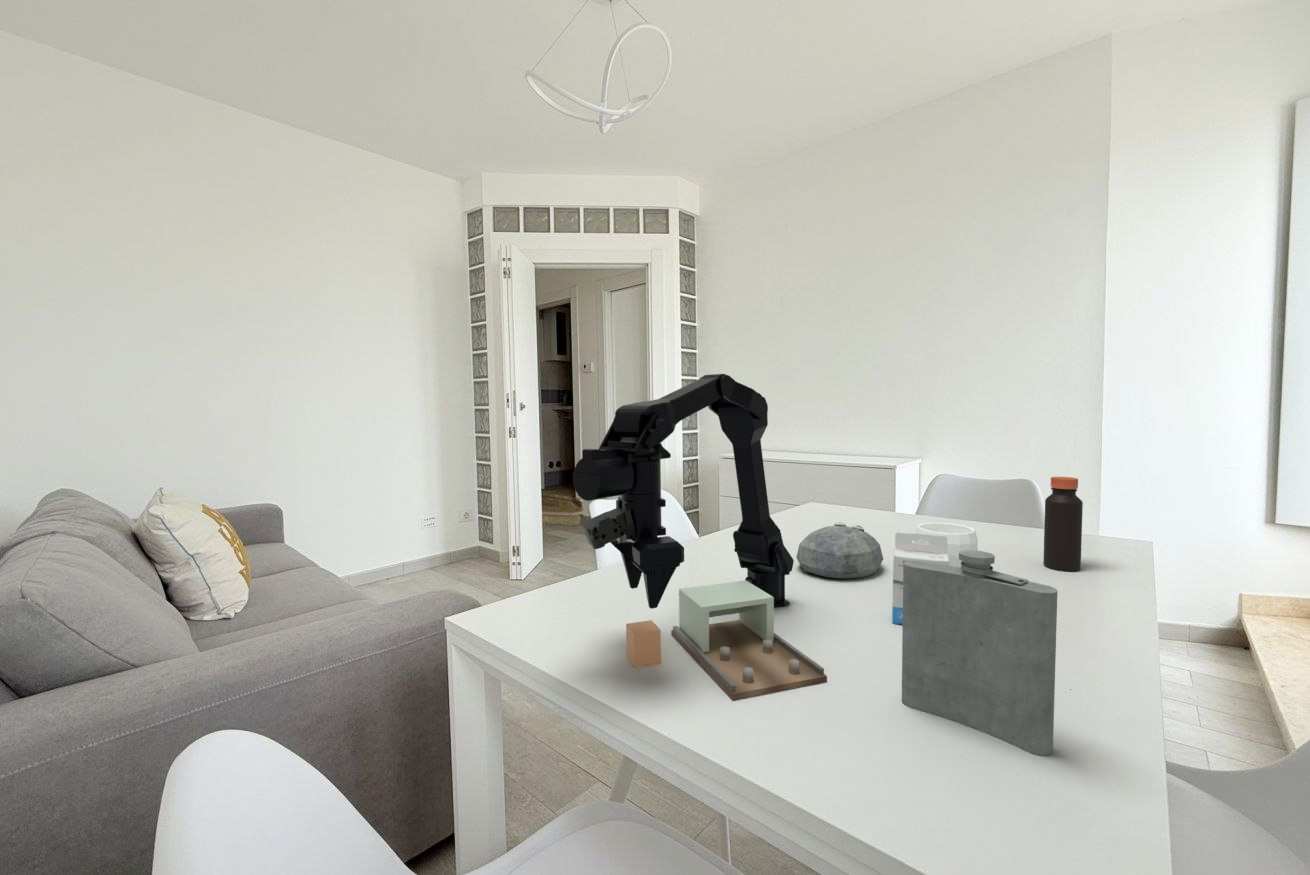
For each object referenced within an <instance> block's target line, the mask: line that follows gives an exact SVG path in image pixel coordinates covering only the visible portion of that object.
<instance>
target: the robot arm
mask: <svg viewBox="0 0 1310 875" xmlns="http://www.w3.org/2000/svg"><path fill="white" fill-rule="evenodd" d="M762 395H763V394H761V393H760V392H757V391H756V390H755V389H753V388H751V387H750V386H747V385H745V384H743V383H740V382H738V381H736V380H735V379H734V378H733V377H732V376H730V375H729V374H726V373H716V374H714V373H713V374H705V375H703V376H701V377H700V378H699V379H697V380H695V381H692V382H691V383H689V384H686V385H684V386H683V387H681V388H678V389H676V390H674V391H673V392H670V393H668V394H666V395H663V396H662V397H659V398H658V399H653V400H645V401H639V402H633V403H629V404H628V403H627V404H624V405H621V406H620V407H618V408H617V409H616V410H615V412H614V414H615V415H614V418H613V421H612V423H611V425H610V427H609V428H608V430H607V432H606V434H605V436H604V438H603V439H602V442H601V444H600V445H599V447H598V449H597V448H585V449H583V450H582V452H581V454H582V456H581V457H582V458H581V459H579V460H578V462H577V463H576V465H575V468H574V471H573V473H572V483H573V487H574V490H575V492H576V494H577V496H579V498H581V499H582V500H584V501H586V502H589V501H596V500H600V499H608V498H612V497H617V496H618V497H617V499H616V501H615V508H614V509H611V510H609V511H604V512H603V513H601V514H598V515H596V516H594V517H592V518H589V519H587V520H585V521H583V522H582V523H581V526H582V529H583V531H584V534H585V537H586V540H587V541H588V544H589V545H590V546H591V547H592V548H593V549H594V550H598V549H602V548H604V547H605V546H606V545H607V544H609V543H610V544H611V545H612V546H613V547H615V548H616V549H617V550H618V551H619V553H620V555H621V556H620V557H621V559H622V562H623V566H624V570H625V572H626V577H627V580H628V586H629V588H630V589H637V588H638V587H639V584H640V581H641V577H642V575H643V581H644V586H645V593H646V599H647V603H648V608H649V609H650V610H651V609H657V608H658V607H659V604H660V602H661V599H662V597H663V595H664V593H665V591H666V589H667V586H668V584H669V582H670V581H671V579H672V577H673V575H674V573H675V572H676V569H677V568H679V567H680V566H681V564H682V563H684V562H685V547H684V546H683V545H682V543H680V542H679V541H677V540H676V539H674V538H673V537H672V536H670V535H667V528H666V527H665V526H663V525H662V508H666V507H667V506H666V503H667V500H666V499H665V498H664V497H662V484H661V483H662V480H661V479H662V474H661V473H662V472H661V464H662V463H661V460H665V459H670V458H671V457H672V456H671V452H669V451H668V449H666V448H665V447H664V446H663V444H662V443H663V442H664V441H665V440H666V439H667V438H668V437H670V436H671V435H672V434H673V433H674V431H675V430H676V426H677V424H679V423H680V422H681V421H683V420H685V419H686V418H688V417H691V416H692V415H694V414H695V413H697V412H699V411H702V410H703V409H705V408H708V410H710V411H711V412H712V413H714V414H715V415H717V417H718V420H719V424H720V428H721V431H722V432H723V434H724V435H725V436H726V438H727V439H728V440H729V441H730V443H731V445H732V451H733V458H734V466H735V473H736V480H737V490H738V495H739V497H738V498H739V503H740V504H739V505H740V510H741V517H742V518H741V522H740V524H739V526H738V529H737V530H735V531H733V533H732V537H733V541H734V552H735V553H736V555H737V558H738V561H739V562H738V563H739V566H740V568H741V569H746V570H747V571H746V572H747V576H746V577H745V578H744V579H745V580H746V581H748V582H749V583H751V584H753V585H754V586H756V587H758V588H759V589H761V590H763V591H764V592H766V593H767V594H769V595H771V596H772V597H774V608H775V607H776V608H777V607H783V606H788V605H790V603H791V602H790V601H789V600H787V599H786V587H785V586H786V576H788V575H790V572H792V571H793V567H794V561H795V559H794V558H793V557H792V555H791V553H790V552H789V550H788V549H787V548H786V546H785V545H784V541H783V540H784V539H783V536H782V533H781V530H780V528H779V527H778V525H777V523H775V521H774V520H773V518H772V517H771V515H770V507H769V501H768V500H769V498H768V492H767V483H766V482H767V481H766V473H765V468H764V465H765V464H764V459H763V458H764V457H763V451H762V450H763V449H762V442H761V440H762V438H763V435H764V433H765V432H766V429H767V427H768V423H769V421H768V413H769V405H768V402H767V400H766V398H765V396H762ZM619 496H620V497H619Z"/></svg>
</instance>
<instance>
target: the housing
mask: <svg viewBox="0 0 1310 875" xmlns="http://www.w3.org/2000/svg"><path fill="white" fill-rule="evenodd" d="M774 610H775V607H774V597H772V596H771V595H769V594H767V593H766V592H764V591H763V590H761V589H759V588H758V587H756V586H754V585H753V584H751V583H749V582H748V581H746V580H738V581H729V582H722V583H721V582H720V583H714V584H705V585H698V586H691V587H690V586H689V587H681V588H679V589H678V618H679V619H678V622H679V623H678V628H679V629H680V630H681V631H682V632H683V633H684V634H685V635H686V636H687V637H688V638H689V639H690V640H691V641H692V642H693V643H694V644H695V645H696V646H697V647H698V648H699V649H700V650H701V651H702V652H703V653H704V652H709V624H710V618H713V617H721V616H729V615H736V614H739V620H740V622H741V623H743V624H744V625H745V626H747V627H748V628H749V629H751V630H752V631H753V632H754V633H756V634H757V635H758V636H760V637H761V638H762V639H764V640H765V639H769V640H772V641H774V633H775V631H774V630H775V626H774V625H775V620H774V619H775V614H774V613H775V611H774Z"/></svg>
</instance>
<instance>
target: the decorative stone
mask: <svg viewBox="0 0 1310 875" xmlns="http://www.w3.org/2000/svg"><path fill="white" fill-rule="evenodd" d="M796 560H797V561H798V563H799V565H800V567H801V568H802V570H803V571H805V572H807V573H811V574H814V575H817V576H821V577H824V578H825V577H826V578H834V579H857V578H865V577H868V576H870V575H873V574H876V572H877V571H878V569H879V568H880V566H881V564H882V563H883V560H884V556H883V551H882V549H881V544H880V543H879V542H878V541H877V539H876V538H875V537H873V536H872V535H871V534H870V533H868V532H866V531H865V529H864V528H863V527H862V526H860V525H856V524H855V525H852V526H847V524H845V523H844V522H841V521H840V522H839V521H838V522H835V523H834V524H833V525H827V526H824V527H821V528H818V529H817V530H814V531H812V532H810V533H809V534H807V536H806V537H804V538H803V540H802V541H801V542H800V543H799V544H798V550H797V554H796Z"/></svg>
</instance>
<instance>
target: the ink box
mask: <svg viewBox="0 0 1310 875" xmlns="http://www.w3.org/2000/svg"><path fill="white" fill-rule="evenodd" d="M894 535H895V536H894V537H895V538H894V540H895V542H894V543H895V544H894V545H895V547H894V548H895V549H894V550H893V563H892V564H893V565H892V566H893V567H892V568H893V570H892V606H891V608H892V611H891V612H892V613H891V615H892V617H891V618H892V620H891V621H892V622H891V623H892V624H896V625H902V626H903V563H904V562H906V561H921V562H928V563H935V564H942V565H948V566H949V557H948V554H947V537H946V536H941V535H930V534H918V533H915V532H903V531H902V532H900V531H898V532H896V533H895V534H894ZM919 539H922V540H924V541H929V542H930V544H929V545H926V544H915V543H914V542H913V541H914V540H919Z"/></svg>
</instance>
